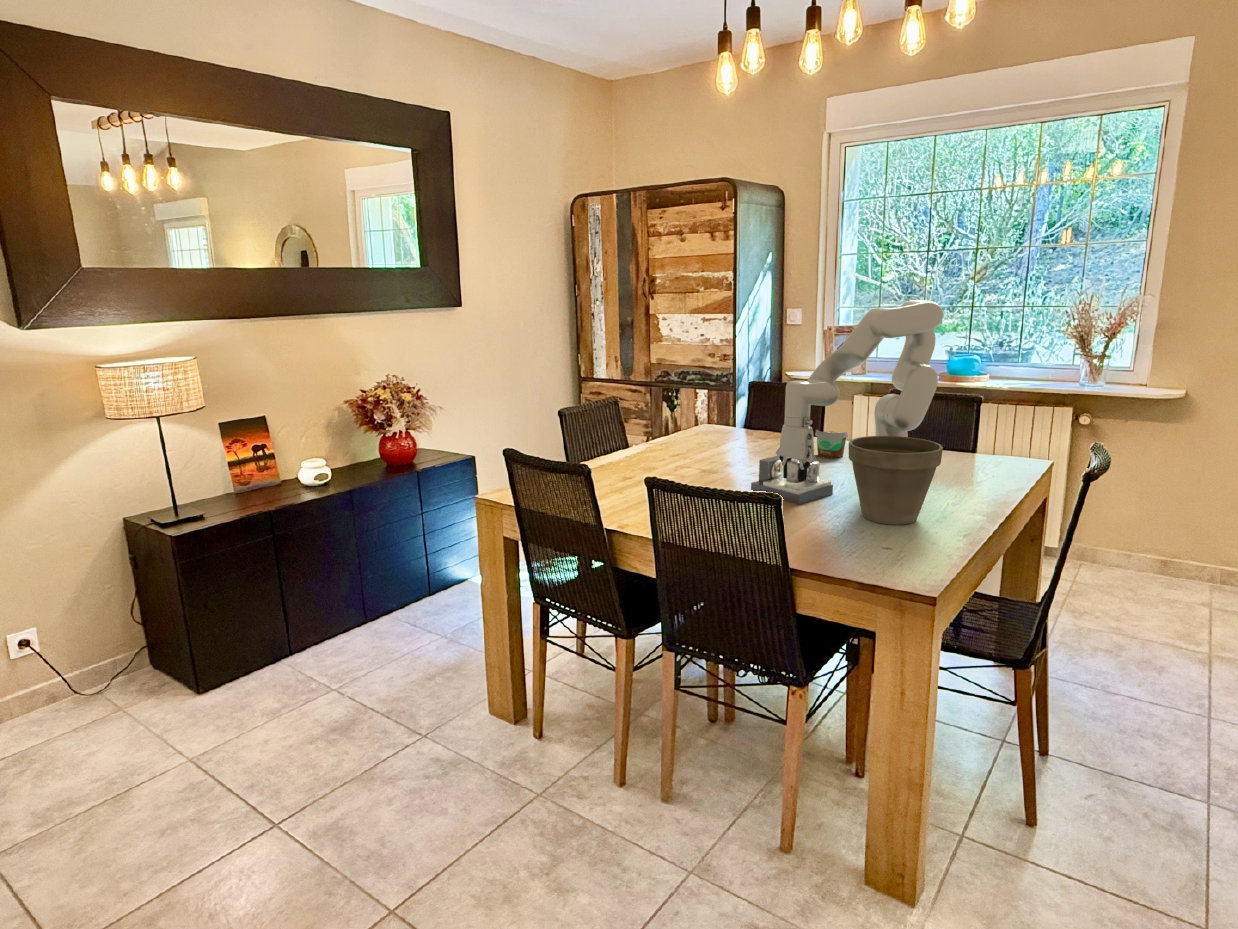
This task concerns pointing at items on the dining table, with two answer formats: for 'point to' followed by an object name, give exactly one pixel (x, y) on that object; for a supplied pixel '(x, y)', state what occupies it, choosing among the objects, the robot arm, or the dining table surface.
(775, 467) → the dial scale
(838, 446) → the food container
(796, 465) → the steel spacer
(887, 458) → the plant pot
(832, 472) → the dining table surface
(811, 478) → the cylinder
